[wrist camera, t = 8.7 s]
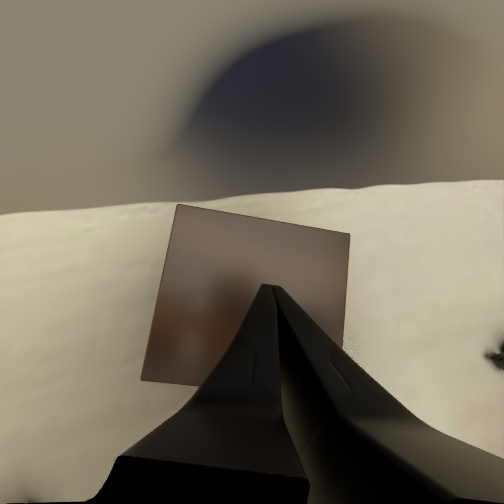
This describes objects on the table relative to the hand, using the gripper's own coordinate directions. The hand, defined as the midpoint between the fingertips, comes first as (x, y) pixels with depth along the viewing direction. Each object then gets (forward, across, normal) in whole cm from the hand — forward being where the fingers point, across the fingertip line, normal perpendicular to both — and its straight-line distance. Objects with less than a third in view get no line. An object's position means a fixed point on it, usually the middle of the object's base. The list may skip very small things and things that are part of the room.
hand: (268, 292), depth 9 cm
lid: (+3, 0, +3) cm, 4 cm away
